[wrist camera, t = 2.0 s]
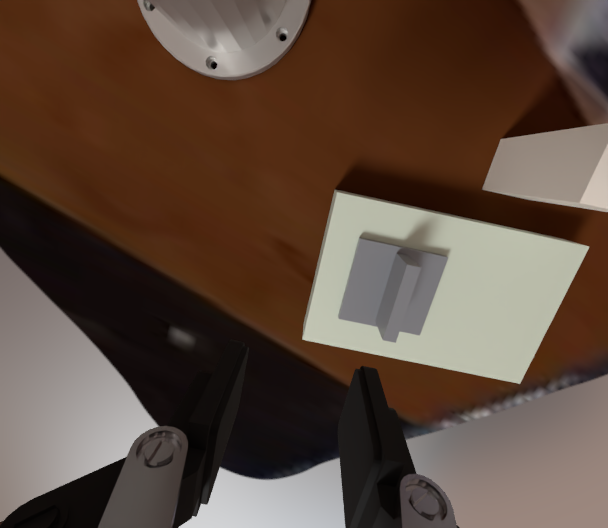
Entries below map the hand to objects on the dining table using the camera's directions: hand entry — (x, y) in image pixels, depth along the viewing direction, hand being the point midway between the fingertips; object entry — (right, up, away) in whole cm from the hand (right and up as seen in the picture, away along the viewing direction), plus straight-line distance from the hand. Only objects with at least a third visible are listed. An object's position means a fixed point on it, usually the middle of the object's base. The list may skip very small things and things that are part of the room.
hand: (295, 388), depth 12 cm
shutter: (+7, +3, +14) cm, 16 cm away
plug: (+18, +12, +14) cm, 25 cm away
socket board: (+11, +3, +17) cm, 21 cm away
